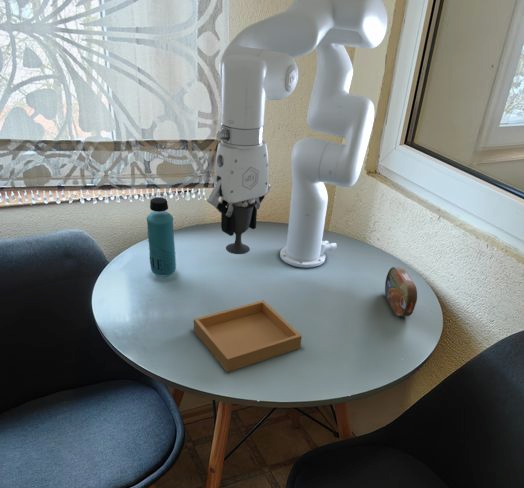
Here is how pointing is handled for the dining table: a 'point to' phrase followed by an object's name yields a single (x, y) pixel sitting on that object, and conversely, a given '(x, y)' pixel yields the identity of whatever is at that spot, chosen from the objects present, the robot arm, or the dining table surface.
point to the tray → (246, 335)
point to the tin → (400, 292)
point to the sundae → (241, 225)
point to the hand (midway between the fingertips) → (238, 228)
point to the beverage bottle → (161, 238)
